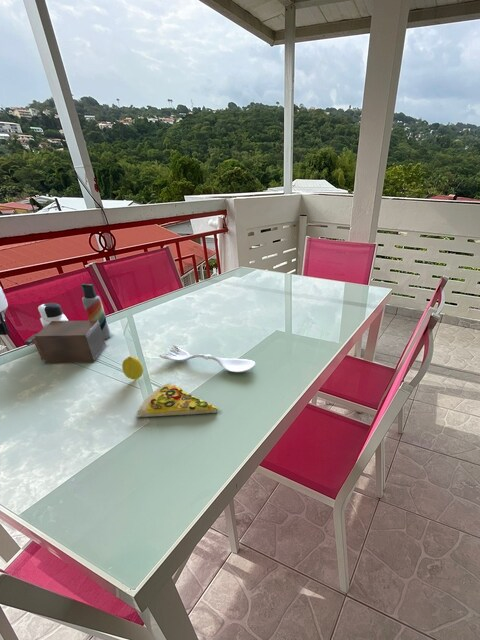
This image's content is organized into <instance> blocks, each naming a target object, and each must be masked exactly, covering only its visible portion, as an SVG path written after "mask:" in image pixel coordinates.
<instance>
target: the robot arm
mask: <svg viewBox="0 0 480 640" xmlns="http://www.w3.org/2000/svg"><path fill="white" fill-rule="evenodd" d="M8 307H9V303H8V301H7V297H6V295H5V292H4V290H3V288H2V286H1V285H0V336H7V335H8V334H10V330H9V328H8V325H7V322H6V316H5V313H6V311H7V308H8Z"/></svg>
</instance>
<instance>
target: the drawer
mask: <svg viewBox="0 0 480 640" xmlns="http://www.w3.org/2000/svg"><path fill="white" fill-rule="evenodd" d="M36 334H37V333H34V334H32V335H31V336H30V337H29V338H27V339H26V340H25V341H24V344H25V345H26V346H30V345H34V346H35V348H36V351H37V353H38V356H39V358H40V360H41V361H45V360H44V358H43V355H42V353H41V351H40V348H39V346H38V344H37V341H36V339H35V337H34V336H35V335H36Z"/></svg>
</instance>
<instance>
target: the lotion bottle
mask: <svg viewBox="0 0 480 640" xmlns="http://www.w3.org/2000/svg"><path fill="white" fill-rule="evenodd" d="M80 287H81V290H82V294H83V296H82V298H81V301H82V304H83V308H84V310H85V313H86V316H87V321H99V324H100V327H101V330H102V334H103V337H104V340H108V339H110V338H111V337H112V334H111V329H110V326H109V323H108V319H107V316H106V312H105V309H104V305H103V302H102V299H101V297H100V296H99V295H98V294H97V292H96V289H95V286H94V284H92V283H81V284H80Z"/></svg>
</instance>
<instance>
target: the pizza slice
mask: <svg viewBox="0 0 480 640" xmlns="http://www.w3.org/2000/svg"><path fill="white" fill-rule="evenodd" d="M218 411H219V408H218V407H216V406H214V405H213V404H212V403H210V402H208V401H206V400H204V399H201V398H198V397H196V396H195V395H192V394H190V393H189V392H187V391H186V390H184V389H183V388H181V387H179V386H177V385H175V384H171V383H169V382H167V383H164V384H163V385H161V386H159V387H158V388H156V389H155V390H153V391H152V392H151V393H150V394H148V395H147V397H146V398H145V399H144V400H143V402H142V403H141V405H140V406H139V408H138V410H137V416H138V417H140V418H146V417H147V418H148V417H149V418H150V417H168V416H169V417H170V416H188V415H199V414H200V415H201V414H216V413H218Z"/></svg>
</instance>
